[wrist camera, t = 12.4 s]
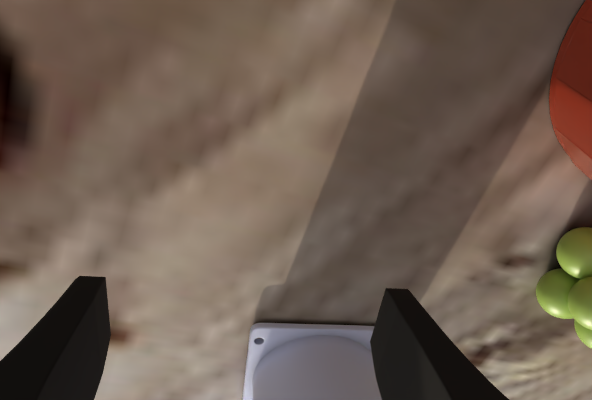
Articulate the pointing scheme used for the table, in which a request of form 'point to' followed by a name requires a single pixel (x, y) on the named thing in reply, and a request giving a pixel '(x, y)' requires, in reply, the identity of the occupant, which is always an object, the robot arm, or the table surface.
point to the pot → (574, 91)
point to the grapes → (571, 283)
